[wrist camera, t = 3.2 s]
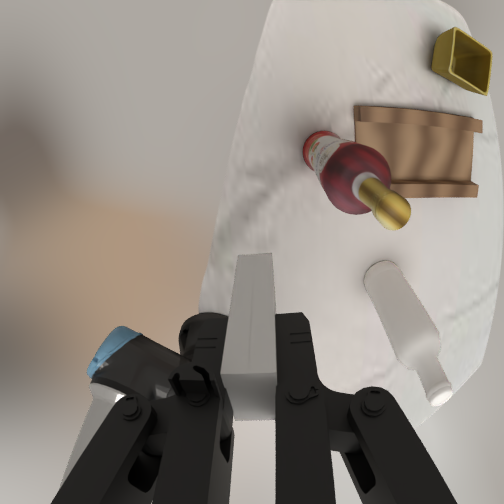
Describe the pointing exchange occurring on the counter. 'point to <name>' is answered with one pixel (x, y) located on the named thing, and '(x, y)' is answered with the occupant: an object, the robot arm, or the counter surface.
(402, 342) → the bottle
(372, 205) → the liquor
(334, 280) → the counter surface
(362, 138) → the rest
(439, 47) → the flower pot
